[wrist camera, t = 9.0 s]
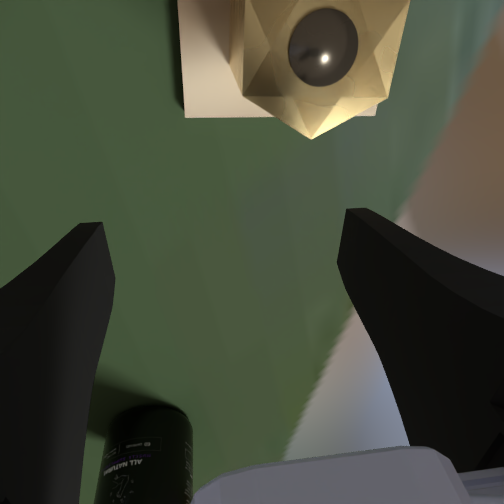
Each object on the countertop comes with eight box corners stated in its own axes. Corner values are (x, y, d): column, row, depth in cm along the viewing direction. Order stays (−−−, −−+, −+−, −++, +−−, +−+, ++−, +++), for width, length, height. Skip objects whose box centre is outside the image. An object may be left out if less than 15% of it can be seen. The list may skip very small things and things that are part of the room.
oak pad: (369, 110, 20) (375, 115, 19) (185, 112, 19) (185, 117, 18) (404, -70, 16) (413, -72, 15) (172, -82, 15) (171, -84, 14)
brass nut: (336, 101, 19) (378, 140, 14) (228, 99, 18) (241, 140, 14) (361, -56, 15) (426, -63, 11) (230, -65, 15) (247, -76, 10)
